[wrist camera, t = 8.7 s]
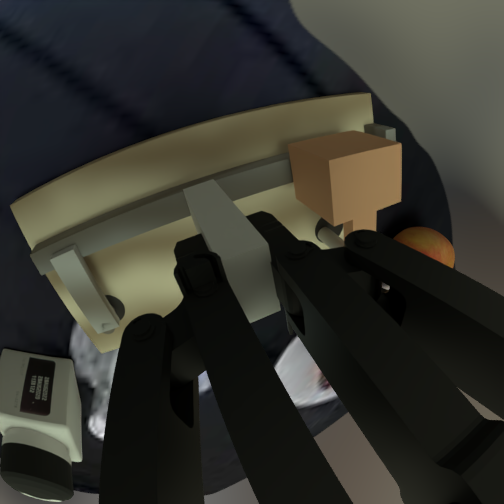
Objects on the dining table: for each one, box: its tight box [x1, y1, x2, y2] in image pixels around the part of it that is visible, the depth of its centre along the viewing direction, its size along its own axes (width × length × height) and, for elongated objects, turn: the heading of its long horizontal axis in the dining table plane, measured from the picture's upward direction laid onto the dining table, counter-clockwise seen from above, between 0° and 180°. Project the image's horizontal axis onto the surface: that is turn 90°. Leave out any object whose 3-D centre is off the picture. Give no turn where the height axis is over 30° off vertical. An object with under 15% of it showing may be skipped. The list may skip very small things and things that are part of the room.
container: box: [0, 349, 82, 502], centre depth 16 cm, size 8×8×13 cm
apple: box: [393, 227, 455, 268], centre depth 25 cm, size 7×7×8 cm
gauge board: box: [10, 92, 396, 353], centre depth 19 cm, size 14×26×4 cm, turn 102°
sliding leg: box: [288, 130, 402, 249], centre depth 18 cm, size 8×5×6 cm, turn 12°
